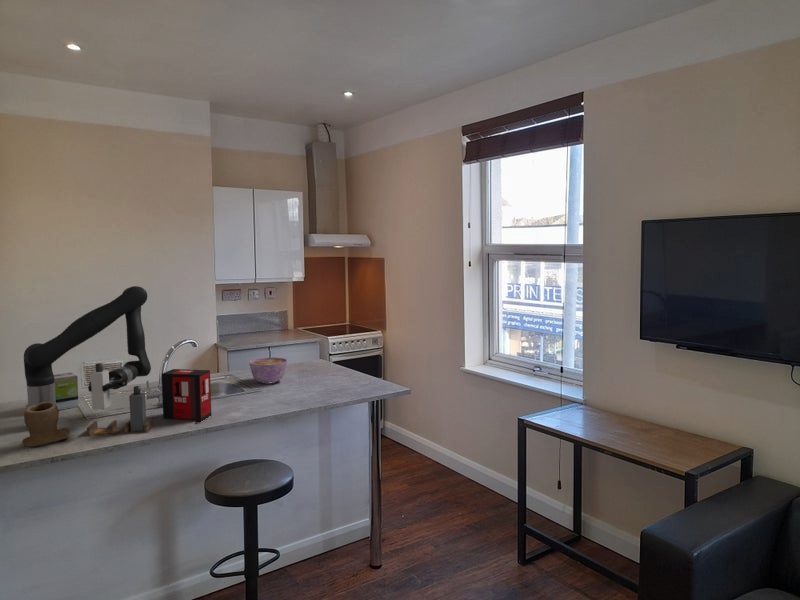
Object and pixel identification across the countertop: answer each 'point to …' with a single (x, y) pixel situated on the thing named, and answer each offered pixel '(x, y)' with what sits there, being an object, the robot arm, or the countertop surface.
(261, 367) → the bowl of food
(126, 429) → the comb rack
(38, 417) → the stone cup
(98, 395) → the white square bottle
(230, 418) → the countertop surface
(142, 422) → the grey square bottle
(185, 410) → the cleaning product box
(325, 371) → the countertop surface
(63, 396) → the tea box
